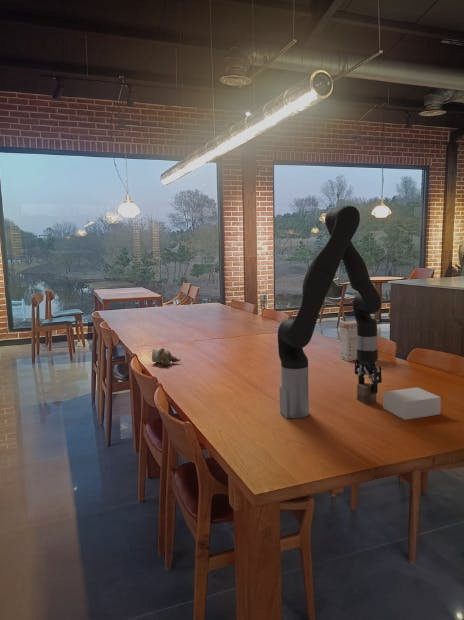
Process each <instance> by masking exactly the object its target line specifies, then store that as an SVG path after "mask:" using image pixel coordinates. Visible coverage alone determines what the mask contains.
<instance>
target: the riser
mask: <svg viewBox="0 0 464 620" xmlns="http://www.w3.org/2000/svg"><path fill="white" fill-rule="evenodd" d="M382 394H383V395H382V396H383V397H382V398H383V399H382V405H383V406H382V407H383V408H382V409H384V410H386V411H388V412H389V413H391V414H393V415H395V416H397V417H399V418H401V419H402V420H404V421H405V420H411V419H413V420H414V419H419V418H420V419H421V418H425V417H430V416H436V415H437V416H439V415H441V403H442V402H441V400H442V399H441V396H438V395H436V394H434V393H432V392H429V391H428V390H424V389H423V388H420V387H418V386H417V387H411V388H409V387H408V388H402V389H401V388H400V389H394V390H386V391H383V393H382Z"/></svg>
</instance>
